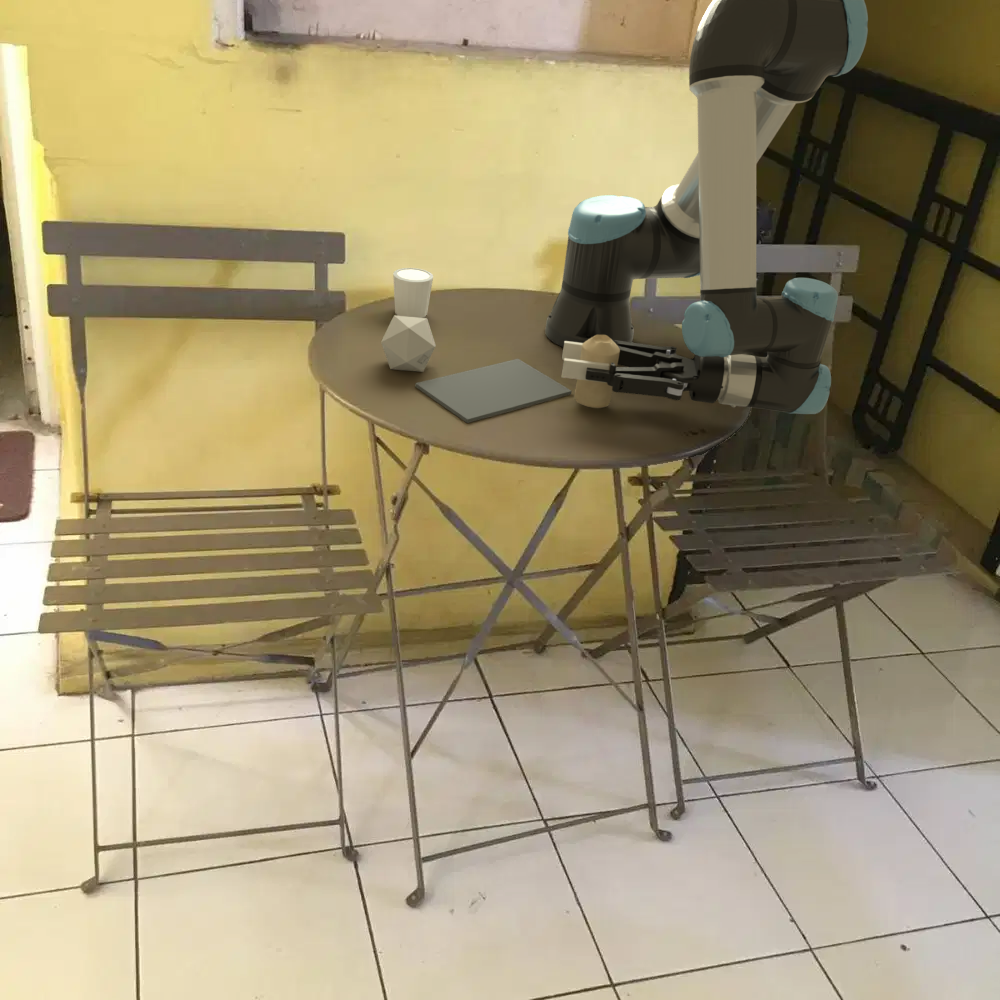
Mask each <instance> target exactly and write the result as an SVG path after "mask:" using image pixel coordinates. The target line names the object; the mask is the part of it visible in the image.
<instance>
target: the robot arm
mask: <svg viewBox="0 0 1000 1000" xmlns="http://www.w3.org/2000/svg"><path fill="white" fill-rule="evenodd" d="M868 21H869V17H868V9H867V5H866V2H865V0H712V1H711V3H710V4H709V5H708V6H707V9H706V11H705V12H704V15H703V16H702V18H701V20H700V22H699V24H698V27H697V30H696V34H695V37H694V38H693V42H692V47H691V50H690V51H691V52H690V55H689V57H690V58H689V68H688V69H689V70H688V75H689V77H688V82H689V84H688V85H689V91H690V92H691V93H692V94H693V95H694V96H695V98H696V100H697V153H696V155H695V156H694V159H693V160H692V163H690V166H689V167H688V169H687V171H686V173H685V174H684V176H683V178H682V179H681V181H680V183H676V184H673V185H670V186H669V187H667V188H666V189H665V190H664V191H663V193H662V196H661V197H660V199H659V200H658V202H657V204H656V205H655V206H645V204H644V203H643V202H642V200H640V199H638V198H635V197H631V196H628V195H621V196H618V195H615V194H607V195H605V194H604V195H597V196H592V197H588V198H586V199H584V200H582V201H581V202H579V203H578V204H577V205H576V206H575V207H574V209H573V211H572V214H571V219H570V223H569V226H568V229H567V230H568V231H567V236H568V238H567V245H566V251H565V257H564V258H565V260H564V267H563V273H562V274H563V275H562V282H561V289H560V291H559V294H558V296H557V298H556V299H555V302H554V304H553V307H552V309H551V311H550V312H549V314H548V316H547V318H546V323H545V329H544V330H545V332H544V333H545V336H546V337H547V339H549V340H550V341H551V342H553V344H555V345H557V346H560V347H562V349H563V350H562V357H561V359H562V360H563V364H562V371H561V378H565V379H573V380H577V379H579V380H587V381H595V382H604V383H606V382H607V384H608V385H609V386H612V391H613V392H614V393H621V394H628V395H629V394H631V395H638V396H640V395H641V396H651V397H658V398H666V399H669V400H674V401H681V399H682V396H683V392H688V395H689V398H690V399H691V401H693V402H699V403H700V402H702V403H709V404H714V403H716V401H718V403H719V404H722V405H729V406H730V407H731V408H736V407H745V408H752V409H760V410H770V411H773V412H775V411H776V412H783V413H786V414H791V415H792V414H796V415H797V414H798V415H799V414H800V415H816V414H819V413H821V412H822V410H823V409H824V408H825V406H826V405H827V402H828V399H829V396H830V389H831V386H832V385H831V384H832V373H831V370H830V368H829V367H828V365H825V364H822V363H821V360H822V356H823V353H824V349H825V346H826V344H827V339H828V337H829V335H830V334H829V333H830V331H831V328H832V325H833V322H834V321H835V314H836V310H837V306H838V301H839V294H838V291H837V290H836V288H834V287H833V286H832V285H830V284H828V283H826V282H824V281H822V280H819V279H815V278H811V277H810V278H809V277H795V278H792V279H789V280H788V281H787V282H786V283H785V286H784V288H783V291H781V296H774V297H772V296H771V297H757V164H758V162H759V160H760V159H761V158H762V156H763V155H764V153H765V152H766V151H767V148H768V147H769V145H770V144H771V143H772V141H773V139H774V138H775V137H776V135H777V133H778V132H779V130H780V129H781V127H782V126H783V124H784V122H785V121H786V119H787V118H788V116H789V115H790V113H791V112H792V110H793V109H794V107H795V106H796V104H801V103H806V102H808V101H810V100H812V98H814V96H815V95H816V93H817V92H818V90H819V88H820V87H821V86H822V84H823V82H824V81H825V79H826V78H828V77H830V76H831V77H833V78H834V77H839V76H842V75H844V74H847V73H849V72H850V71H851V70H852V69H854V67H855V66H856V65H857V63H858V62H859V61H860V59H861V56H862V54H863V52H864V49H865V47H866V44H867V38H868V31H869V29H868ZM698 276H699V281H700V282H699V284H700V286H699V290H700V293H699V296H700V297H699V298H700V299H699V300H698V301H695V302H693V303H691V304H690V305H688V307H687V308H686V309H685V312H684V314H683V315H684V316H683V317H684V319H683V320H682V322H681V333H682V338H683V341H684V344H685V346H686V348H687V349H688V350H689V351H690V352H691V353H692V354H694V357H692V358H689V357H686V356H683V355H682V356H681V355H679V354H677V347H675V346H672V345H671V346H664V345H663V346H662V345H661V346H660V345H654V344H653V345H652V344H645V343H640V342H633V341H634V340H633V339H634V335H635V334H634V333H635V329H634V325H633V323H632V308H631V302H630V301H631V300H630V298H631V292H632V287H633V282H634V280H641V279H642V280H643V279H647V280H648V279H679V278H681V279H683V278H684V279H688V278H693V277H698ZM595 335H607V336H608V337H609V338H611V339H612V340H613V341H614V342H615V343H616V345H617V346H618V347H619V349H620V353H619V359H618V364H617V367H616V366H615V364H614V362H613V363H611V365H610V370H609V364H608V363H600V362H592V361H584V360H580V357H581V350H582V345H583V343H584V342H585V341H587V340H588V339H590V338H591V337H594V336H595ZM759 353H767V356H758V355H751V354H759Z"/></svg>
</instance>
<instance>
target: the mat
mask: <svg viewBox="0 0 1000 1000" xmlns="http://www.w3.org/2000/svg"><path fill="white" fill-rule="evenodd" d="M415 388H417V389H418V390H419V391H421V392H422V393H423V394H425V395H426V396H427V397H428V398H431V399H432V400H433V401H435V402H436V403H438V404H439V405H441V406H442V407H443V408H445V409H446V410H448V411H449V412H451V413H452V414H454V416H456V417H458V418H459V419H461V420H463V421H464V422H465V423H467V424H469V423H473V422H475V421H480V420H485V419H487V418H490V417H496V416H498V415H501V414H502V415H503V414H505V413H509V412H512V411H516V410H519V409H523V408H527V407H531V406H534V405H538V404H542V403H544V402H548V401H553V400H556V399H559V398H563V397H566V396H570V395H572V392H573V390H571V389H569V388H568V387H566V386H565V385H563V384H561V383H560V382H558V381H556V380H555V379H553V378H551V377H550V376H548V375H546V374H545V373H543V372H541V371H540V370H538V369H536V368H535V367H533V366H531V365H529V364H528V363H526V362H524V361H523V360H521V359H520V358H515V359H511V360H507V361H502V362H499V363H494V364H490V365H486V366H481V367H477V368H473V369H469V370H464V371H461V372H457V373H452V374H448V375H447V374H446V375H444V376H439V377H435V378H431V379H428V380H423V381H419V382H418V381H417V382H416V383H415Z"/></svg>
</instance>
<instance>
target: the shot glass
mask: <svg viewBox="0 0 1000 1000" xmlns="http://www.w3.org/2000/svg"><path fill="white" fill-rule="evenodd" d="M392 275H393V278H392V279H393V297H394V313H395V315H396V316H406V317H418V318H426V317H427V316H428V311H429V306H430V300H431V299H430V298H431V292H432V287H433V279H434V274H433V273H432V272H430V271H428V270H426V269H422V268H417V267H403V268H399V269H396V270H394V271H393V274H392ZM426 315H427V316H426Z"/></svg>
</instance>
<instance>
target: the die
mask: <svg viewBox="0 0 1000 1000" xmlns="http://www.w3.org/2000/svg"><path fill="white" fill-rule="evenodd" d="M380 343H381V346H382V350H383V352H384V355H385V358H386V361H387V364H388V366H389V368H390V370H394V371H395V370H397V371H405V372H406V371H409V372H410V371H411V372H418V373H419V372H420V373H424V371H425V369H426V367H427V365H428V363H429V361H430V359H431V356H432V354H433V353H434V351H435V349H436V342H435V339H434V336H433V333H432V330H431V327H430V323H429V320H428V318H427V317H424V318H418V317H406V316H398V315H396V314H395V315H393V317H392V319H391V321H390V322H389V325H388V327H387V329H386V331H385V333H384V335H383V337H382V340H380Z"/></svg>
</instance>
